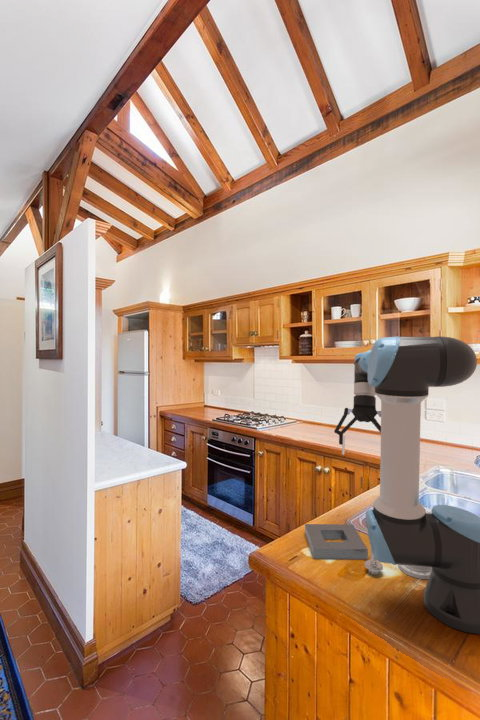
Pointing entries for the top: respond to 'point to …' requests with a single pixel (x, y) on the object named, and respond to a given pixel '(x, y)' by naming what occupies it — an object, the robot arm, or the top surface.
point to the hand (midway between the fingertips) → (363, 456)
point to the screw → (373, 565)
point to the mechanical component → (416, 571)
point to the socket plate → (335, 550)
